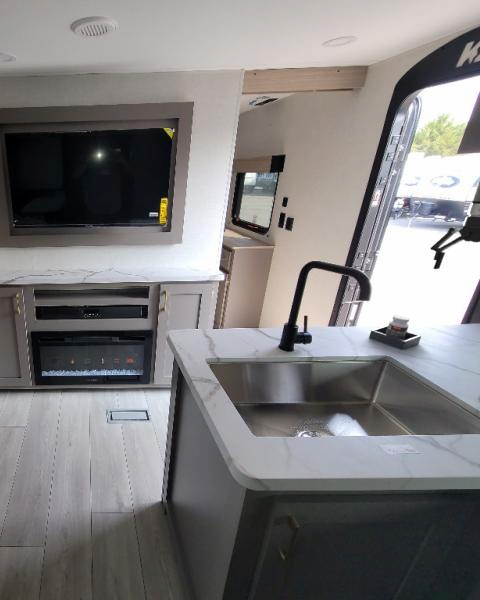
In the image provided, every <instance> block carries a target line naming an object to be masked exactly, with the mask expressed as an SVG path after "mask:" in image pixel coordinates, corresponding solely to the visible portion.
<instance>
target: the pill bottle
mask: <svg viewBox="0 0 480 600" xmlns="http://www.w3.org/2000/svg"><path fill="white" fill-rule="evenodd" d="M409 322H410V318H409V317H408V316H403V315H399V314H398V315H397V314H396V315H393V316H392V320H390V321H389V323H388V324H387V325H388V328H387V331H386V335H389V336H392V337H394V338H397V339H400V340H404V337H405V334H406V332H408V329H409Z"/></svg>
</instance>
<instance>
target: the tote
mask: <svg viewBox="0 0 480 600" xmlns="http://www.w3.org/2000/svg"><path fill="white" fill-rule="evenodd" d="M388 325H389V324H387V325H383V326H380V327H377V328H374V329H371V330H370V332H369V336H368V338H369V339H370V340H374V341H377V342H379V343H381V344H385V345H388V346H390V347H394V348H396V349H399V350H400V351H401V350H403V351H404V350H406V349H408V348H412V347H414V346H417V345H418V344H420V341H421V338H422V335H420V334H418V333H417V334H416V333H414V332H410V331H407V332H406V334H405V337H404V340H400V339H397V338H394V337H392V336H389V335H386V331H387V328H388Z"/></svg>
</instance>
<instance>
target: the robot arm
mask: <svg viewBox="0 0 480 600" xmlns="http://www.w3.org/2000/svg"><path fill="white" fill-rule="evenodd" d="M457 233H459V236H458V237H456V238H455V239H453V240H452V241H450V242H448V243H446V244H445V242H447V240H449V239H450V238H451V237H452V236H453V235H454V234H457ZM462 241H465V242H471V243H480V181H479V182H478V183H477V187H476V189H475V192H474V195H473V199H472V201H471V203H470V206H469V208H468V211H467V216H465V219H464V221H463V224H462V227H461V228H458V227H456V226H452V227H450V228H448V230H447V232H446V234H444V235H443V236H442V237H441V238H440V239H439V240H438V241H436V243H434V244H433V245H432V246H431V247H430V250H431V251H434V252H435V253H434V257H433V261H435V263H434V266H433V267H432V268H433V270H438V269H440V268H441V265H442V263H443V261H444V260H443V259H444V257H445V254H446V250H447V249H450V248H451V247H453V246H455V245H457V244H458V243H460V242H462ZM443 244H444V245H443Z"/></svg>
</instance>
